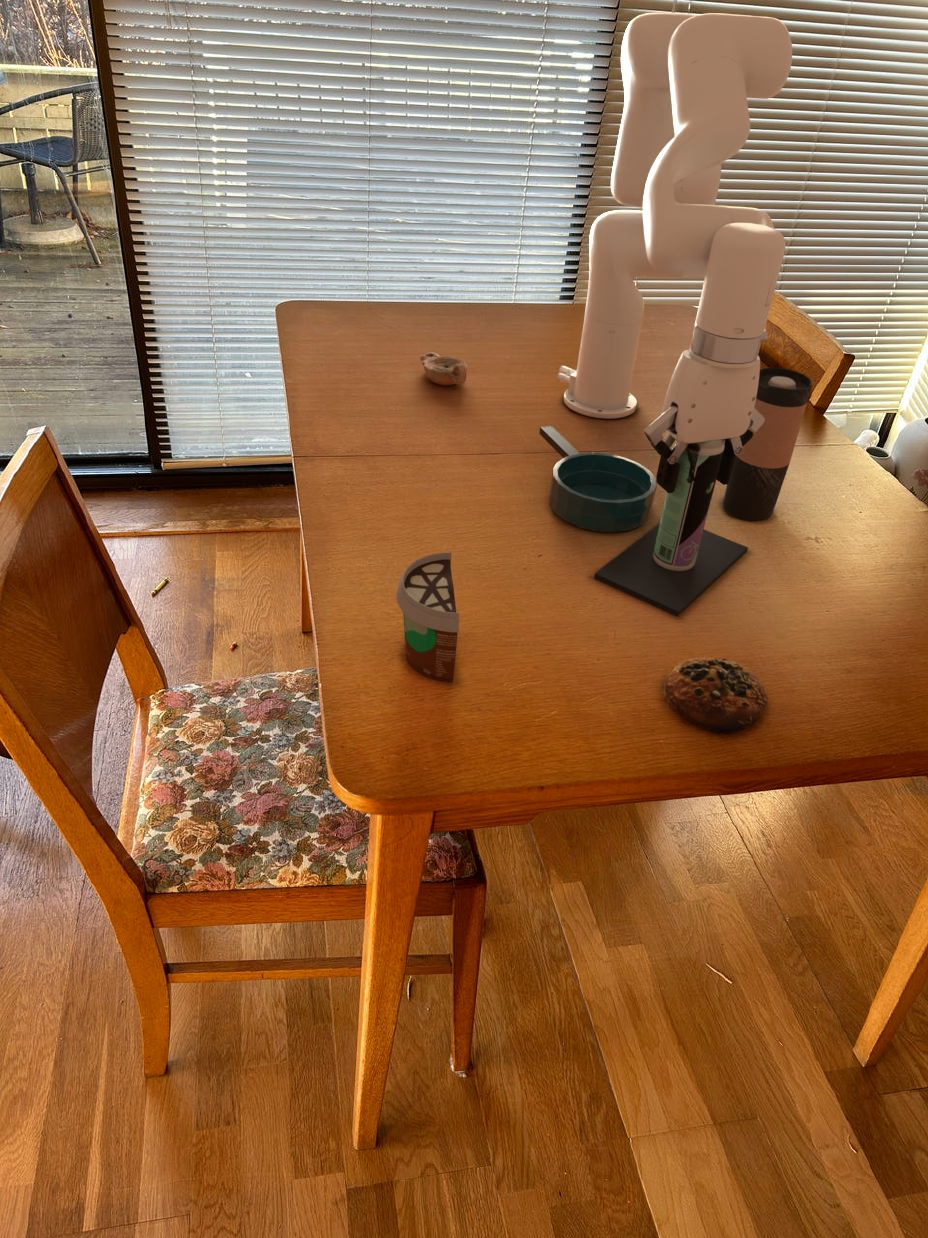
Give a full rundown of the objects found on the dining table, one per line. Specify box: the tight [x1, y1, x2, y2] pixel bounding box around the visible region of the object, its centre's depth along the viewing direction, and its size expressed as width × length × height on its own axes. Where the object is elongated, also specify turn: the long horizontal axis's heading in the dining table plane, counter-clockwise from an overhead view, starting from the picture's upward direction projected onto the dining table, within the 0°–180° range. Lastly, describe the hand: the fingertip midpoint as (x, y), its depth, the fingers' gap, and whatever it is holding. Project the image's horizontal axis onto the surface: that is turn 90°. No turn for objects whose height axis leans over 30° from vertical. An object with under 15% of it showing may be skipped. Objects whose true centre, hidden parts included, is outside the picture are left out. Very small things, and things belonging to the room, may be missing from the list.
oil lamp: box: [419, 352, 468, 386], centre depth 164 cm, size 13×8×5 cm, turn 27°
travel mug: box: [722, 367, 813, 523], centre depth 129 cm, size 8×8×20 cm
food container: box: [395, 552, 460, 683], centre depth 101 cm, size 12×6×10 cm, turn 5°
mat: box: [593, 522, 749, 618], centre depth 122 cm, size 12×20×1 cm, turn 142°
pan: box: [548, 452, 658, 533], centre depth 131 cm, size 14×14×5 cm
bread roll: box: [662, 657, 769, 735], centre depth 100 cm, size 11×11×5 cm
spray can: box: [653, 439, 725, 571], centre depth 116 cm, size 6×6×20 cm
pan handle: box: [538, 425, 581, 459], centre depth 140 cm, size 12×2×1 cm, turn 22°
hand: (692, 482), depth 115 cm, fingers open, 7 cm apart
